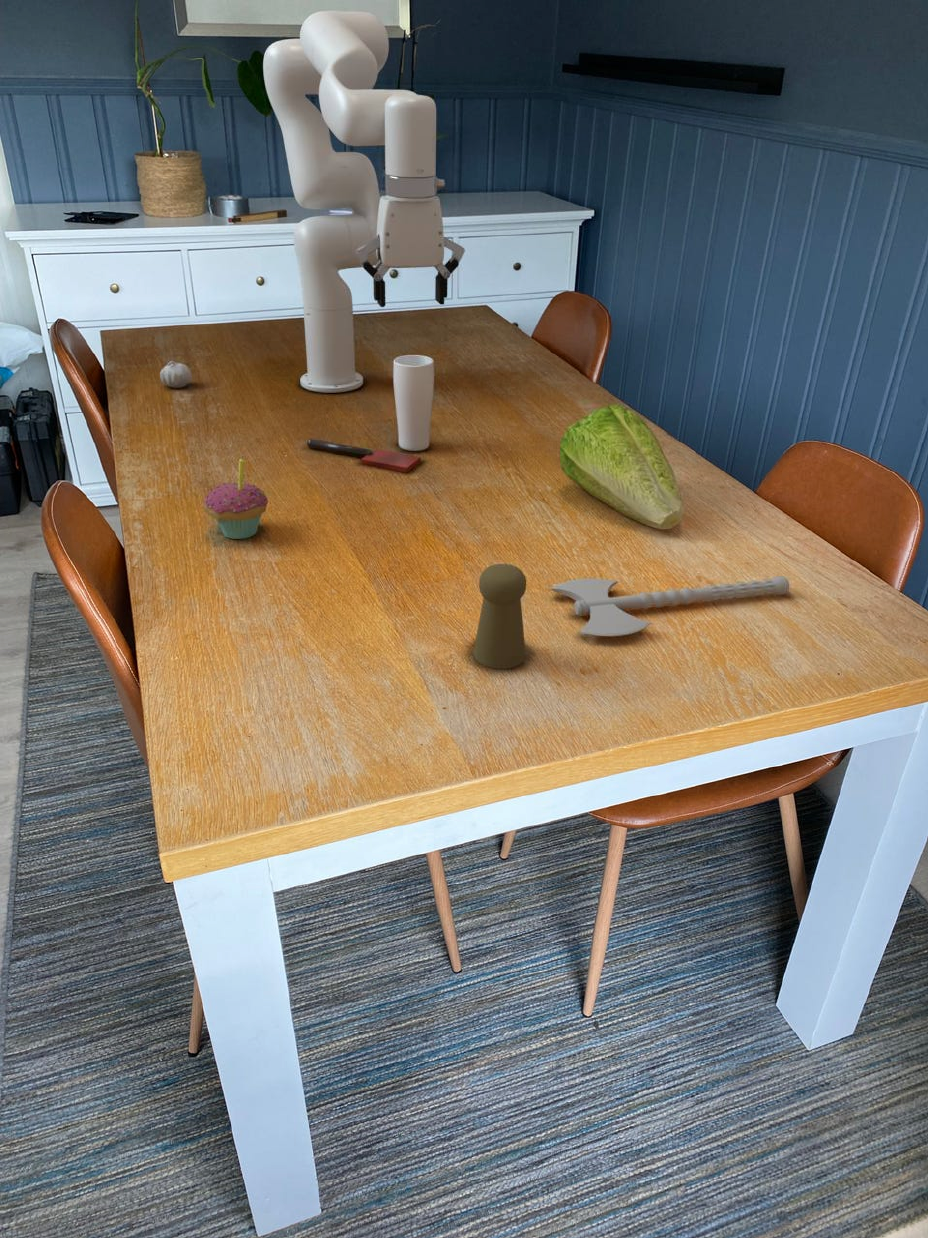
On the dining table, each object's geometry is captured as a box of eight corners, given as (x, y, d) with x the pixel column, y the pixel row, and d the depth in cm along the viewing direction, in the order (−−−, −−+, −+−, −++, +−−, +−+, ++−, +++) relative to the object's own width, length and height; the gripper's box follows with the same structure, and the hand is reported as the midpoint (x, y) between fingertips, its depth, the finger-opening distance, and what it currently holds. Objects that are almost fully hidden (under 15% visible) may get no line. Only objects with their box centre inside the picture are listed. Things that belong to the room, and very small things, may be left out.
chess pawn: (470, 640, 112) (473, 557, 106) (521, 639, 112) (526, 556, 107) (475, 669, 107) (478, 583, 101) (529, 668, 107) (535, 582, 101)
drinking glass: (436, 440, 167) (436, 355, 159) (431, 455, 161) (431, 367, 154) (397, 438, 168) (396, 353, 160) (391, 452, 162) (389, 365, 154)
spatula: (299, 452, 161) (299, 443, 160) (316, 442, 165) (315, 433, 165) (406, 472, 155) (406, 463, 154) (420, 461, 159) (420, 452, 158)
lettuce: (618, 513, 129) (706, 453, 129) (538, 429, 145) (617, 376, 144) (643, 573, 140) (724, 517, 140) (566, 489, 155) (639, 439, 155)
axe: (756, 568, 129) (759, 552, 128) (812, 620, 117) (816, 603, 116) (545, 590, 122) (546, 574, 121) (582, 648, 111) (584, 631, 110)
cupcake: (281, 526, 137) (274, 447, 130) (246, 550, 130) (237, 468, 124) (232, 514, 140) (223, 436, 133) (195, 537, 133) (184, 456, 127)
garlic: (169, 392, 186) (165, 366, 184) (157, 385, 190) (154, 359, 187) (198, 387, 190) (194, 361, 187) (186, 380, 193) (182, 354, 190)
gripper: (458, 183, 149) (456, 295, 158) (349, 184, 145) (353, 300, 154) (472, 190, 143) (468, 307, 152) (358, 192, 139) (362, 312, 148)
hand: (410, 303), depth 153 cm, fingers open, 9 cm apart
